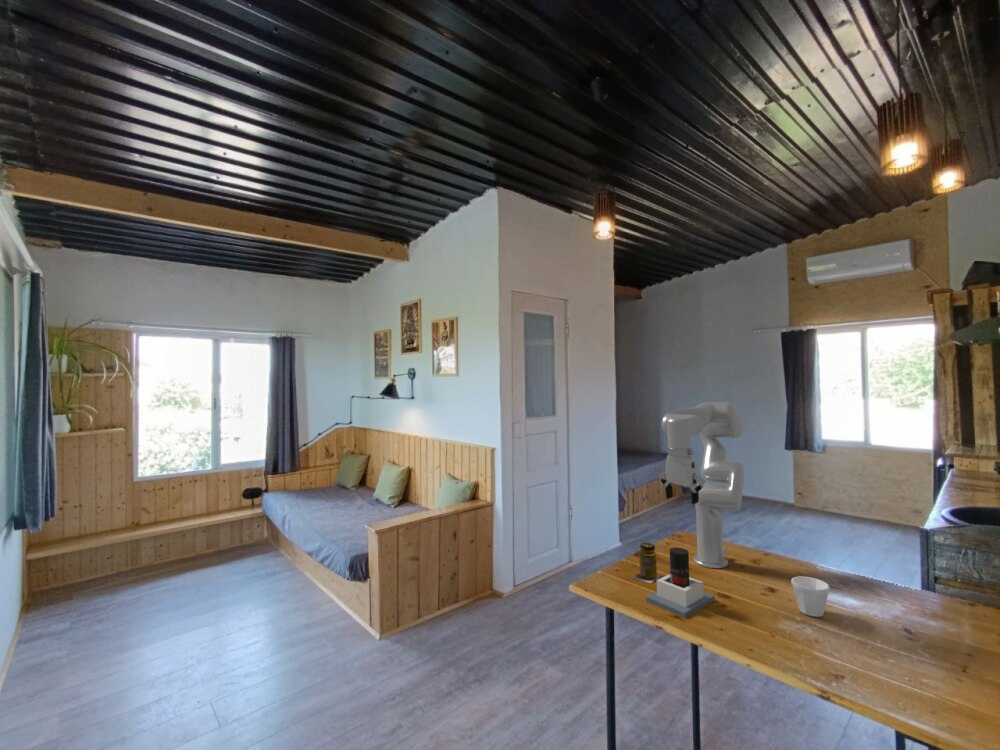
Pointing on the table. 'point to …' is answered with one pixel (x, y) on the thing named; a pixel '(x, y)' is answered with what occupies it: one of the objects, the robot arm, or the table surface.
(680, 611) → the socket
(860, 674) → the table surface
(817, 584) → the cup
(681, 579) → the deodorant
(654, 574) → the condiment
